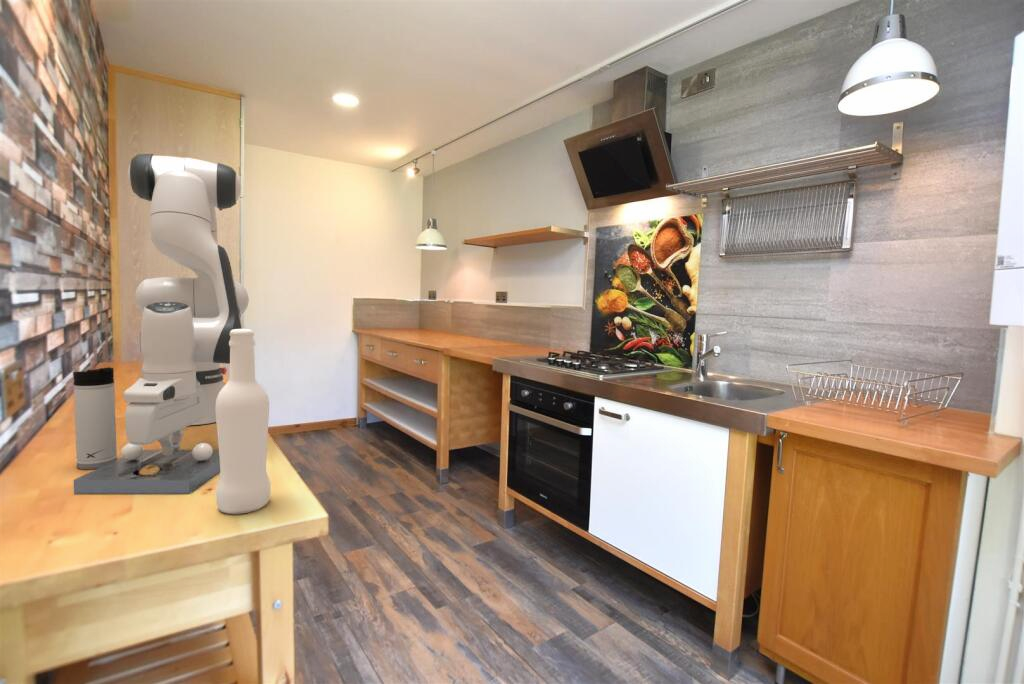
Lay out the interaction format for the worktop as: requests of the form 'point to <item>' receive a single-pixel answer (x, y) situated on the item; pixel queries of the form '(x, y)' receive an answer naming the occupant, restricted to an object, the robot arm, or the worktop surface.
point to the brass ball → (149, 470)
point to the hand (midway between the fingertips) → (171, 453)
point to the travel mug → (95, 418)
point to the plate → (173, 478)
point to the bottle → (242, 432)
